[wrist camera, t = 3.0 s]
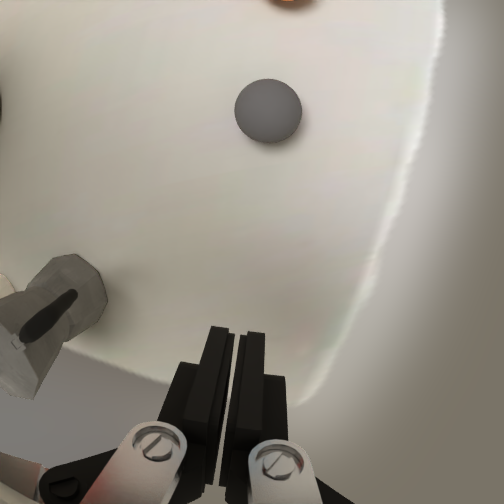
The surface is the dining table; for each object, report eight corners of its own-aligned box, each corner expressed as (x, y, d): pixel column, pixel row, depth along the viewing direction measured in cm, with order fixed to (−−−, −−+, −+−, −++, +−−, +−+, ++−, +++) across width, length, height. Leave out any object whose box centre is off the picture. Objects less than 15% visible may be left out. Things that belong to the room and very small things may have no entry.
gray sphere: (234, 139, 28) (226, 137, 23) (241, 82, 26) (236, 68, 21) (294, 147, 28) (300, 146, 23) (301, 90, 26) (309, 77, 21)
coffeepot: (69, 339, 36) (-6, 428, 19) (28, 281, 34) (-66, 351, 17) (149, 289, 33) (66, 403, 16) (100, 216, 31) (-24, 281, 14)
